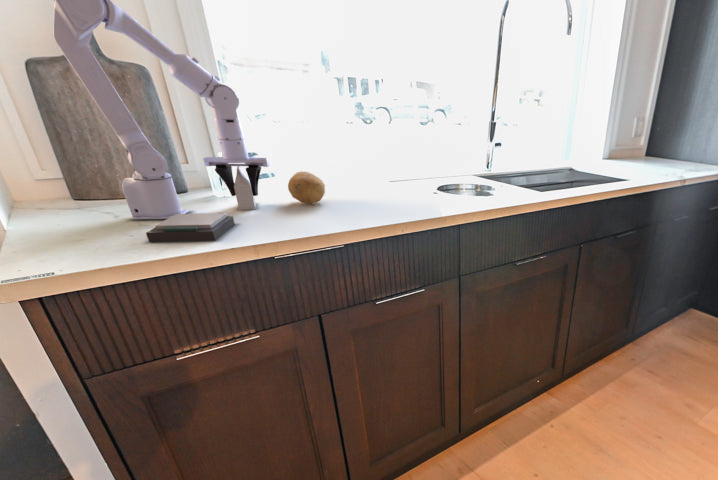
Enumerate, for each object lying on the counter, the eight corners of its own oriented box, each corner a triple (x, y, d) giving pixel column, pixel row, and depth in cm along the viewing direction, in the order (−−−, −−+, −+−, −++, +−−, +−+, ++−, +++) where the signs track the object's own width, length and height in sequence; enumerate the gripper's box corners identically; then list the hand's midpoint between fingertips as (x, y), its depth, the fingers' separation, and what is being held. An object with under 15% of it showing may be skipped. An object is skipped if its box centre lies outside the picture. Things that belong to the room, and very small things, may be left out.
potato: (293, 209, 113) (287, 178, 110) (289, 199, 124) (283, 170, 120) (331, 207, 118) (327, 176, 114) (324, 197, 128) (320, 169, 125)
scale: (149, 242, 86) (144, 228, 84) (176, 225, 97) (172, 213, 95) (215, 240, 88) (211, 227, 87) (235, 224, 99) (231, 212, 98)
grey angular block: (255, 203, 118) (246, 165, 113) (255, 209, 112) (246, 169, 108) (240, 204, 116) (230, 165, 111) (239, 210, 111) (229, 169, 106)
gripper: (267, 138, 111) (278, 192, 118) (205, 137, 108) (220, 192, 115) (260, 141, 105) (272, 197, 112) (194, 139, 102) (210, 197, 109)
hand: (245, 195), depth 113 cm, fingers open, 4 cm apart
